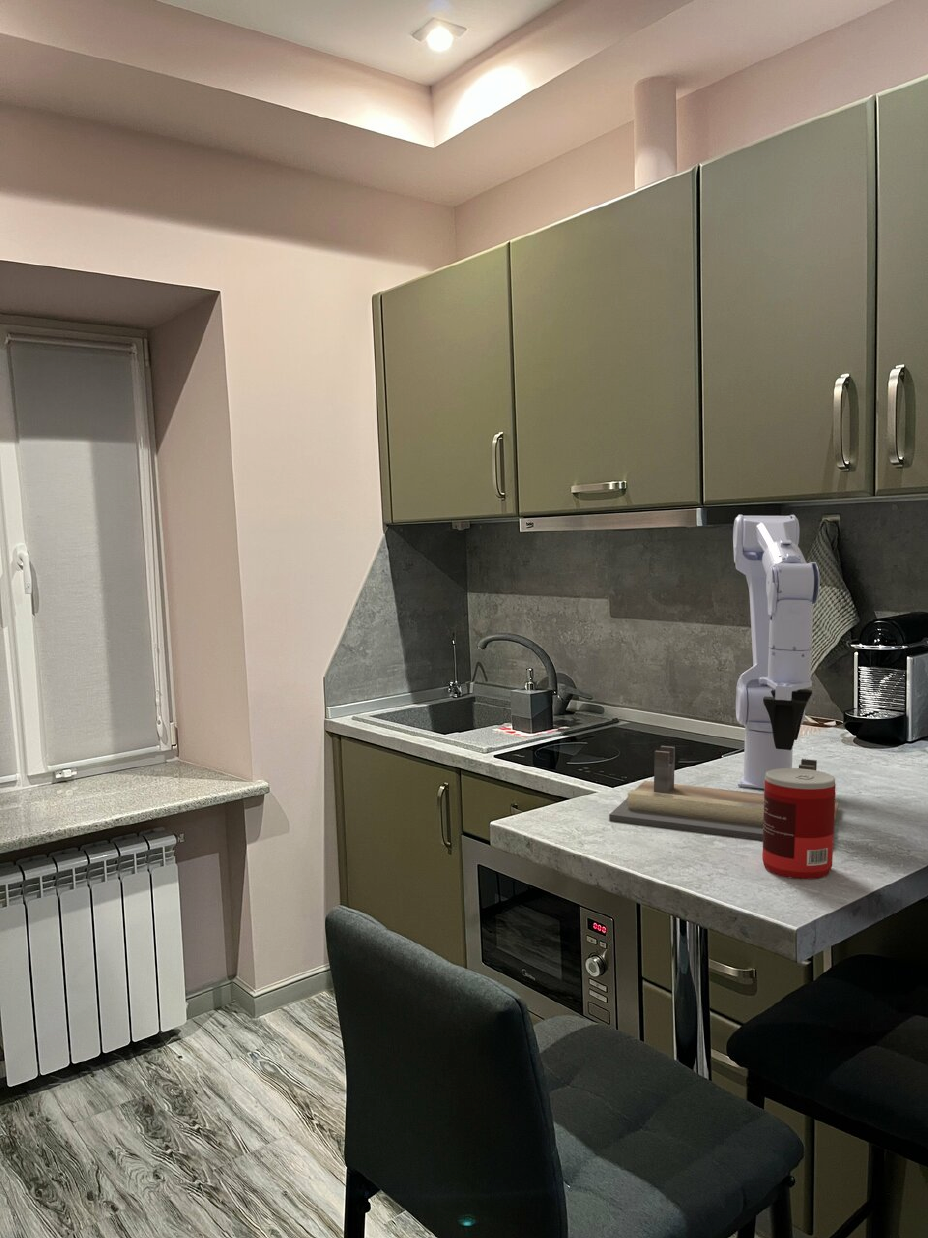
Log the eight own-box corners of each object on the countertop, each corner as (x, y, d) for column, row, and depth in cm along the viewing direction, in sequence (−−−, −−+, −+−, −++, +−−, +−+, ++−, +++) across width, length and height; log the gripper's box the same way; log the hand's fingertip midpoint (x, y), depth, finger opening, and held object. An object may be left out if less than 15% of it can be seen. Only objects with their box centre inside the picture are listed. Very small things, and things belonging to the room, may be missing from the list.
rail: (631, 805, 135) (631, 789, 134) (820, 827, 124) (821, 811, 124) (627, 808, 133) (627, 793, 132) (819, 832, 122) (819, 815, 122)
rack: (644, 787, 148) (645, 741, 147) (838, 809, 136) (840, 759, 136) (629, 801, 140) (630, 752, 139) (834, 825, 128) (836, 772, 128)
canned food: (837, 865, 112) (841, 772, 112) (825, 885, 106) (828, 787, 105) (770, 853, 116) (773, 764, 115) (754, 872, 109) (757, 778, 109)
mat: (627, 802, 139) (628, 797, 139) (834, 827, 127) (834, 821, 127) (609, 820, 130) (609, 814, 130) (829, 848, 118) (829, 842, 118)
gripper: (766, 642, 143) (763, 732, 144) (753, 651, 129) (750, 751, 130) (817, 645, 140) (813, 736, 141) (808, 654, 127) (805, 756, 128)
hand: (786, 744), depth 135 cm, fingers open, 7 cm apart
